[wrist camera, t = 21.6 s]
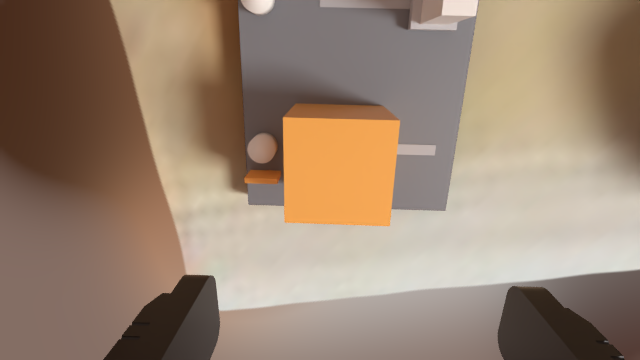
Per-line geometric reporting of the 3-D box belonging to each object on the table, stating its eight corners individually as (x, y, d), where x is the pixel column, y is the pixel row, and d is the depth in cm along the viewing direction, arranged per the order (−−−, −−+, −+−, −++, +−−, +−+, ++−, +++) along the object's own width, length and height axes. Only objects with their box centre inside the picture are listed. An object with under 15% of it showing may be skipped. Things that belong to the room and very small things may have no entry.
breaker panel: (479, -75, 22) (509, -103, 19) (437, 201, 29) (454, 221, 25) (241, -79, 23) (223, -108, 19) (253, 195, 29) (242, 215, 26)
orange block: (383, 105, 24) (400, 120, 18) (376, 187, 27) (389, 226, 20) (295, 103, 25) (283, 117, 18) (295, 185, 27) (284, 222, 21)
